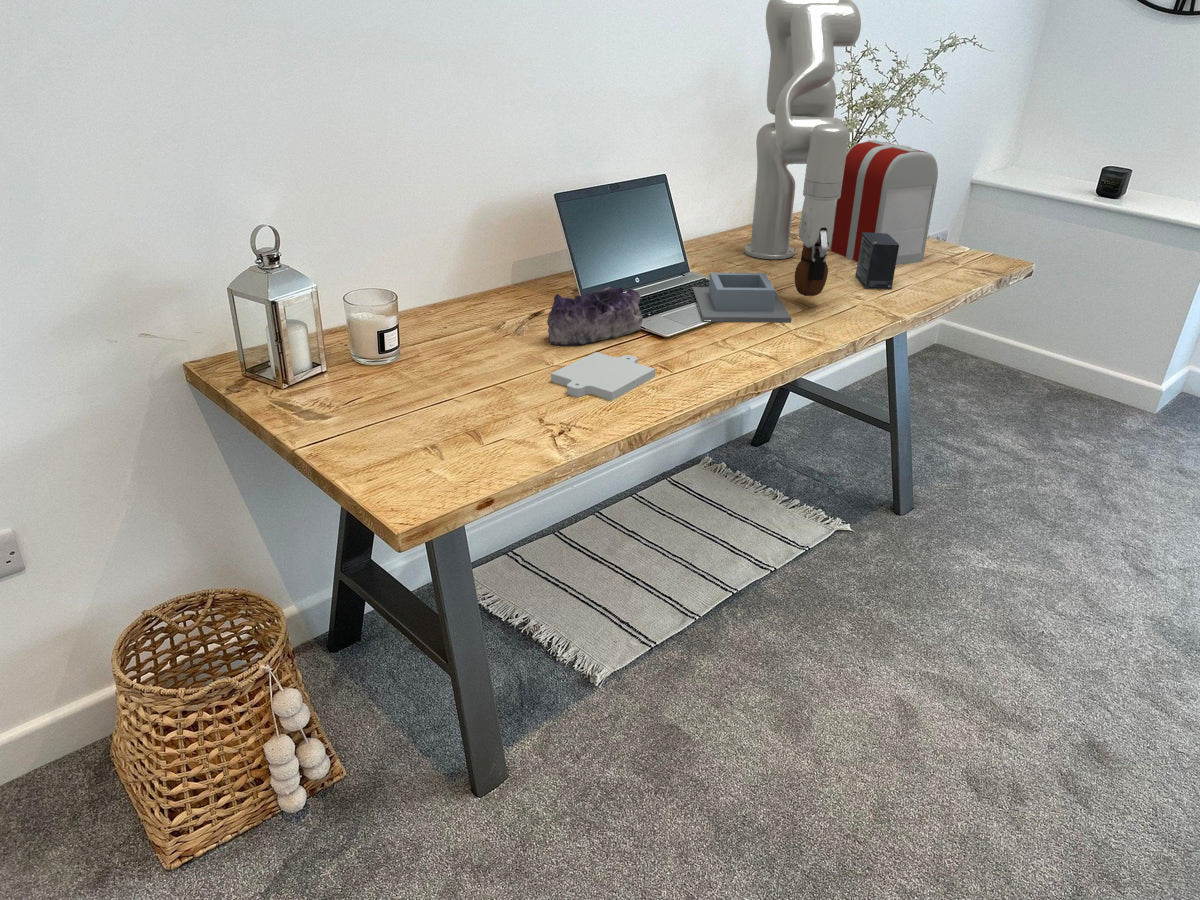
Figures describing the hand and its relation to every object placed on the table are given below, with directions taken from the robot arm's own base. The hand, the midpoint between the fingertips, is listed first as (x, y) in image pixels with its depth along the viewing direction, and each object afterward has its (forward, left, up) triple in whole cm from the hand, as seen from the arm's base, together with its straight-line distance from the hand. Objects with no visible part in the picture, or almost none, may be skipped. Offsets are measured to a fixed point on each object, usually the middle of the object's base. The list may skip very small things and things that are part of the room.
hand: (811, 273), depth 196 cm
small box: (-16, +19, -7) cm, 26 cm away
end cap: (+2, -15, -7) cm, 17 cm away
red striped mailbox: (-39, +26, -7) cm, 48 cm away
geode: (+19, -46, -7) cm, 51 cm away
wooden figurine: (0, 0, -5) cm, 5 cm away
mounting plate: (+42, -45, -7) cm, 62 cm away
